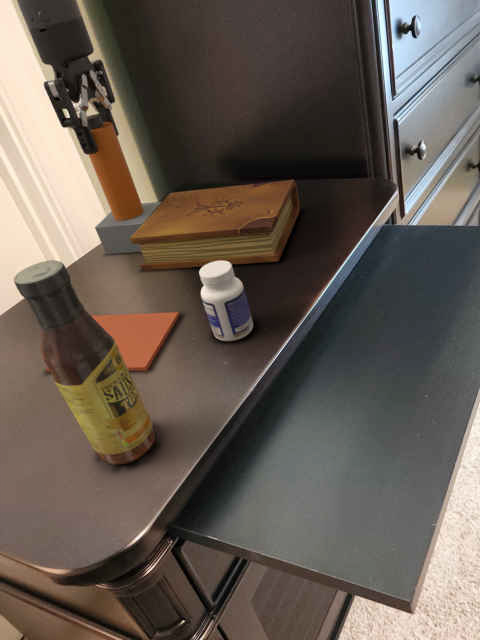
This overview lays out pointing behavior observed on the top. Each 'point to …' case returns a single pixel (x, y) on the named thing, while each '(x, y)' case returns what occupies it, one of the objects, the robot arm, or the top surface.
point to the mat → (138, 335)
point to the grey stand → (122, 231)
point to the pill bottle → (225, 301)
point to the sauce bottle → (86, 366)
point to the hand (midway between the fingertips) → (102, 144)
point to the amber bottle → (113, 171)
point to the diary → (219, 226)
